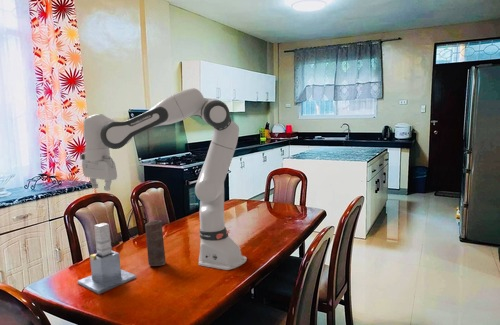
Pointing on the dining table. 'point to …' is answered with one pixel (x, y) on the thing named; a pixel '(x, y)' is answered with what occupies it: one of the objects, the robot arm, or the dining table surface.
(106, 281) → the stand
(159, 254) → the grey upright block
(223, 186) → the robot arm
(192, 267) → the dining table surface
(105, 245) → the column
